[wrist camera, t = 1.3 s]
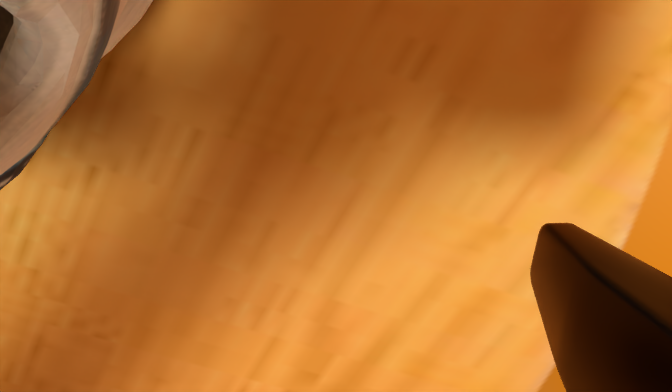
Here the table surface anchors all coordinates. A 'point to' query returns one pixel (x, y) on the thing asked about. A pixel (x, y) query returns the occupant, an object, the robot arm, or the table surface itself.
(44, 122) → the athletic shoe
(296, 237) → the table surface
